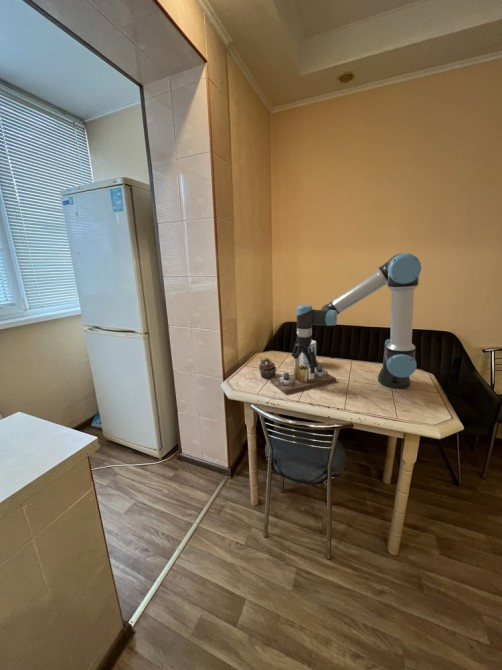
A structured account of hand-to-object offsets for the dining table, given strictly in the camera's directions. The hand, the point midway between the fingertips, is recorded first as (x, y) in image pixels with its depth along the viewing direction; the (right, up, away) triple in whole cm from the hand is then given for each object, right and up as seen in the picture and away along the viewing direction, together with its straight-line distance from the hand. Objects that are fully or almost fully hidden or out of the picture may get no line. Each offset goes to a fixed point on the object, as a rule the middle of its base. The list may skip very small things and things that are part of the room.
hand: (303, 374), depth 148 cm
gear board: (0, -4, +1) cm, 5 cm away
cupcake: (-18, -3, +11) cm, 21 cm away
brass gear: (0, -3, +1) cm, 3 cm away
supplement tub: (+7, +2, +26) cm, 27 cm away
